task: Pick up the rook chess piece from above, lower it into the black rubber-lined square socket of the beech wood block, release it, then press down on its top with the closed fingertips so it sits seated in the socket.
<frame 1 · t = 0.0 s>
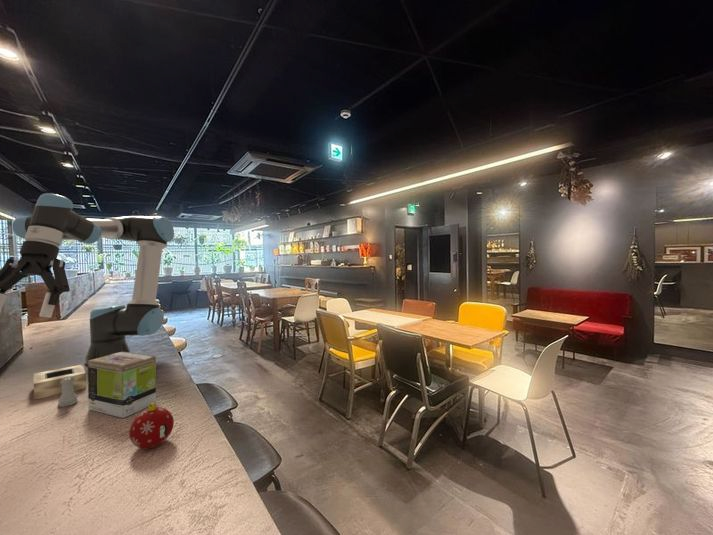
hand: (18, 317, 80), 28 cm above the worktop, tool tilted 20°, fingers open, 13 cm apart
socket block: (60, 388, 100), on the worktop
christmas ornament: (152, 446, 70), on the worktop
rook chess piece: (68, 404, 90), on the worktop
tea box: (123, 407, 88), on the worktop
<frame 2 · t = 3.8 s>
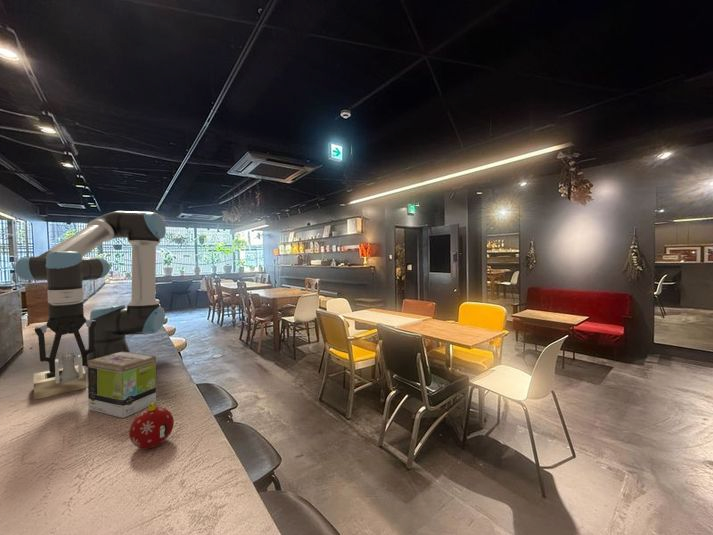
hand: (69, 379, 90), 7 cm above the worktop, tool pointing down, fingers closed on rook chess piece, 4 cm apart
rook chess piece: (69, 380, 90), point 7 cm above the worktop, touching gripper
everything else where it was.
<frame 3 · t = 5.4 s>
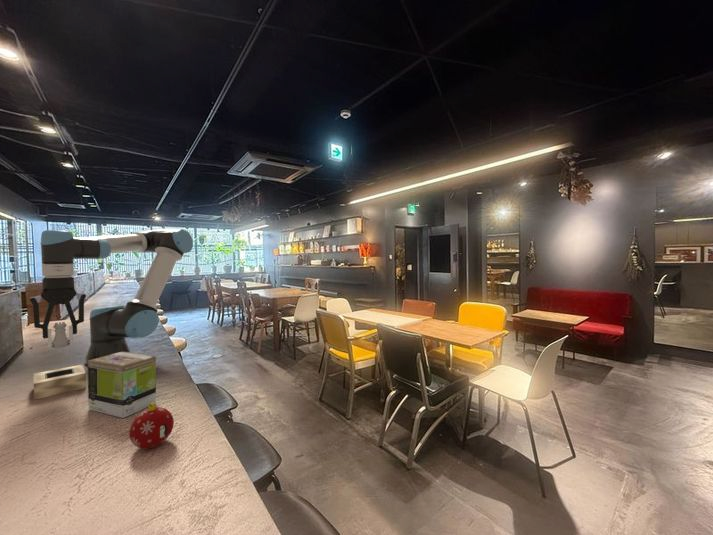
hand: (60, 345, 100), 14 cm above the worktop, tool pointing down, fingers closed on rook chess piece, 4 cm apart
rook chess piece: (60, 347, 100), point 14 cm above the worktop, touching gripper
everything else where it was.
when the fingers open (5 cm above the worktop, at t = 7.4 s): rook chess piece drops 5 cm, resting in socket block.
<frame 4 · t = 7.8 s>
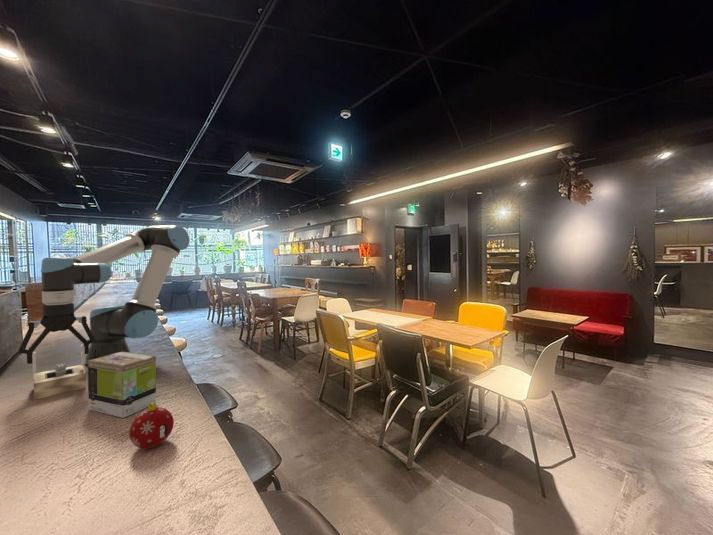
hand: (59, 368, 100), 7 cm above the worktop, tool pointing down, fingers open, 11 cm apart
rook chess piece: (61, 388, 101), resting in socket block
everything else where it was.
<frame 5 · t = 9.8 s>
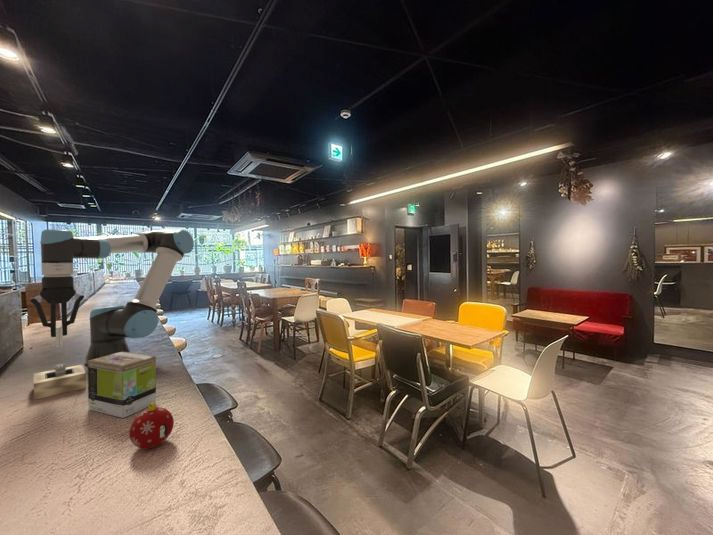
hand: (59, 345, 100), 14 cm above the worktop, tool pointing down, fingers closed
nothing on the worktop moved.
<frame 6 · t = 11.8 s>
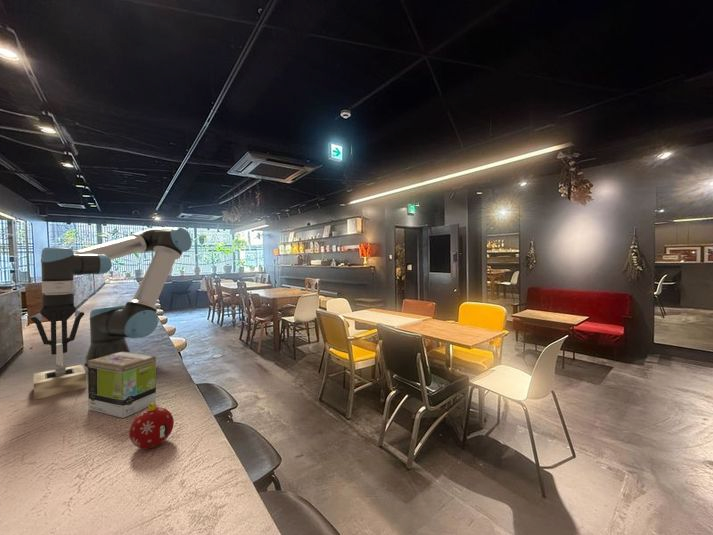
hand: (59, 363, 100), 9 cm above the worktop, tool pointing down, fingers closed
nothing on the worktop moved.
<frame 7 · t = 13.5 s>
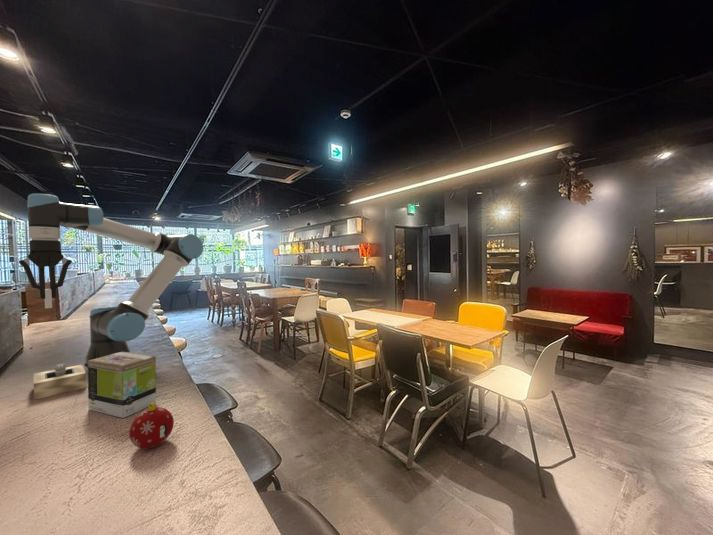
hand: (48, 307, 103), 27 cm above the worktop, tool pointing down, fingers closed
nothing on the worktop moved.
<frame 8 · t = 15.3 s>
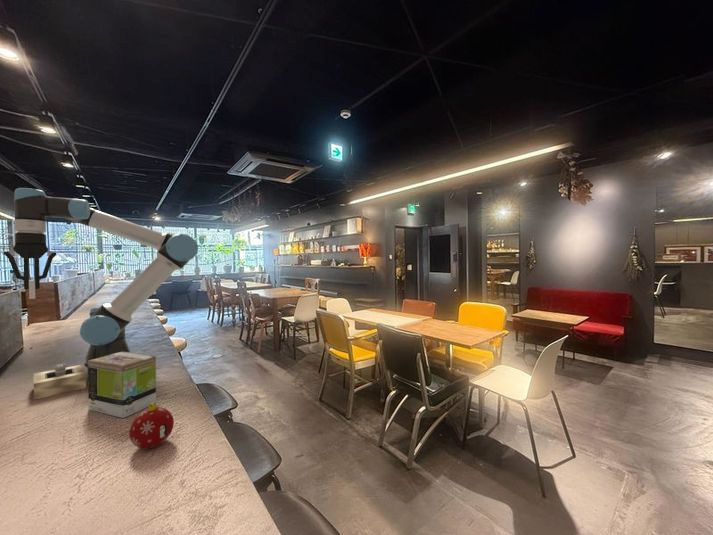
hand: (32, 298, 107), 29 cm above the worktop, tool pointing down, fingers closed
nothing on the worktop moved.
at the end: rook chess piece 0.3 cm off-centre on the socket block, point 0.0 cm above the socket block's base; rook chess piece tilted 0° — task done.
